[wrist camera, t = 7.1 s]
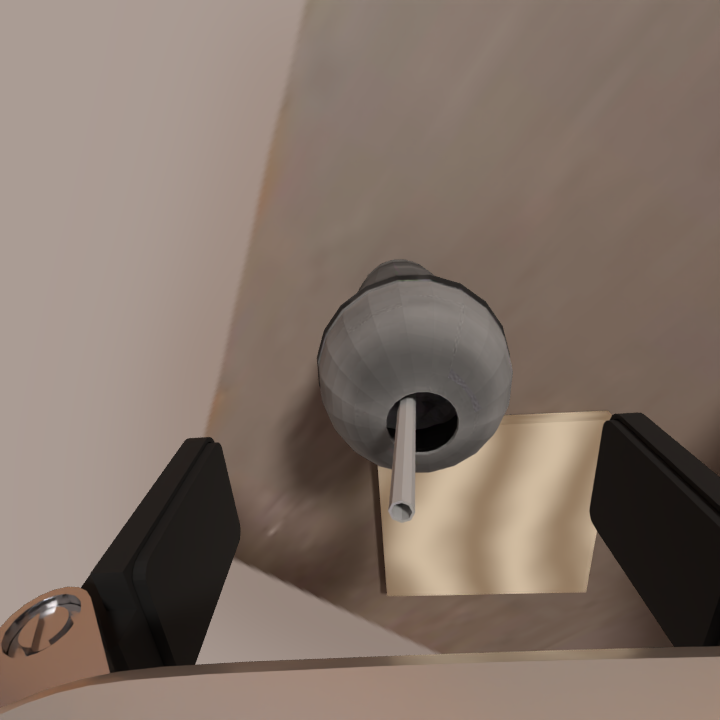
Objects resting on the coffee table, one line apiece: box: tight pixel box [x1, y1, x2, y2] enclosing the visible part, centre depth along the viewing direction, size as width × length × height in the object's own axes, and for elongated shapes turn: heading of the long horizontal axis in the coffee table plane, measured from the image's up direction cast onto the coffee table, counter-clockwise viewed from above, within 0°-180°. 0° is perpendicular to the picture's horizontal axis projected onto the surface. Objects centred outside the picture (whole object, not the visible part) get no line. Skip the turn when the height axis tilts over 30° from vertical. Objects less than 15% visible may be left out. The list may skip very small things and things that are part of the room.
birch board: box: [378, 411, 612, 596], centre depth 32 cm, size 16×16×1 cm
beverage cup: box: [317, 260, 513, 523], centre depth 18 cm, size 7×7×20 cm
